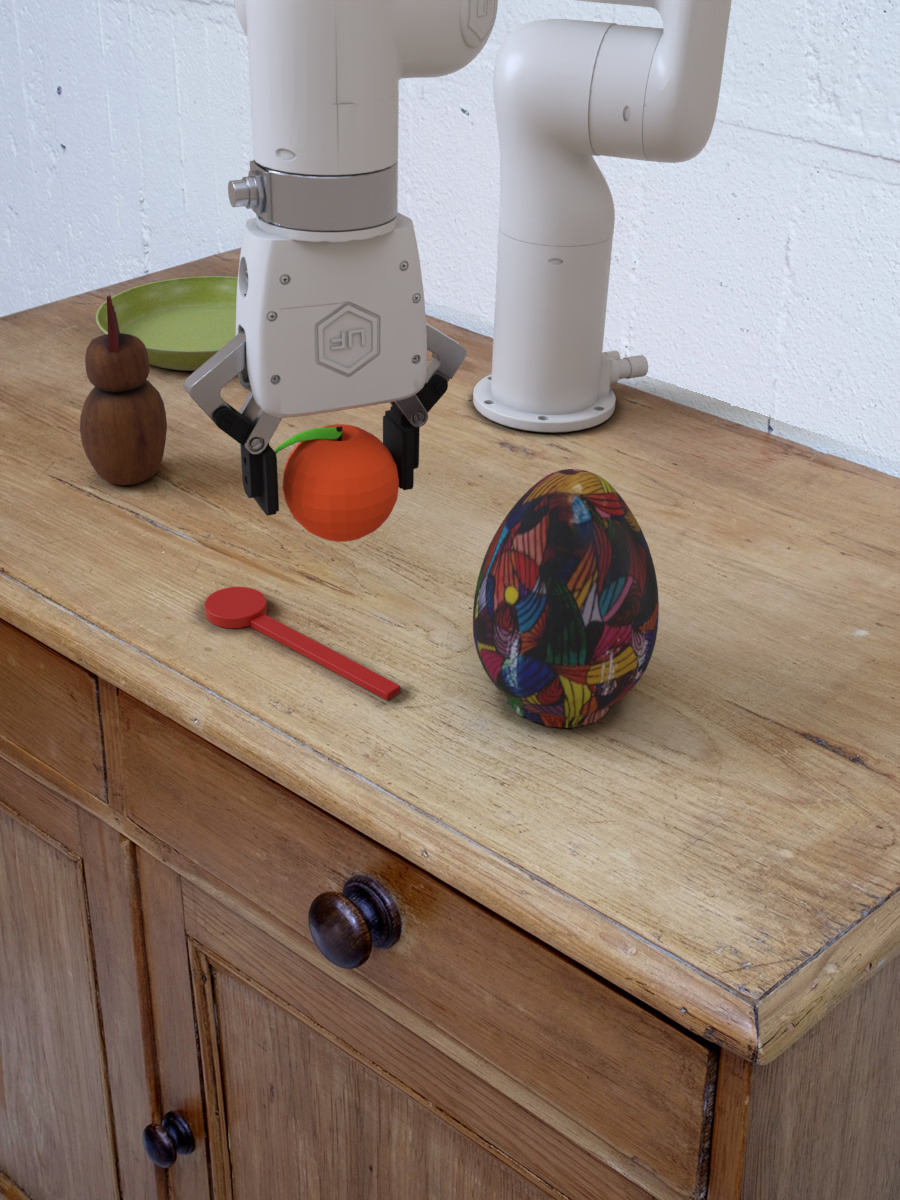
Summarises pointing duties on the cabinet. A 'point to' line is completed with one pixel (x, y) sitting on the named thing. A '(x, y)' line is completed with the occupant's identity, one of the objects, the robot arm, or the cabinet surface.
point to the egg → (566, 601)
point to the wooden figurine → (121, 408)
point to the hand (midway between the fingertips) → (332, 491)
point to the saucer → (177, 318)
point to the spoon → (288, 636)
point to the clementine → (339, 482)
